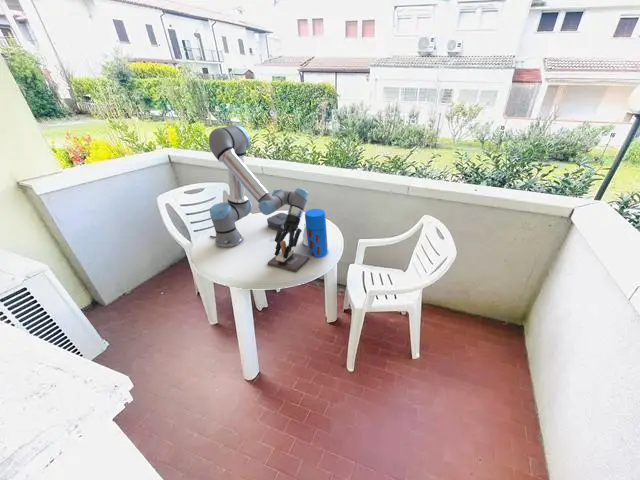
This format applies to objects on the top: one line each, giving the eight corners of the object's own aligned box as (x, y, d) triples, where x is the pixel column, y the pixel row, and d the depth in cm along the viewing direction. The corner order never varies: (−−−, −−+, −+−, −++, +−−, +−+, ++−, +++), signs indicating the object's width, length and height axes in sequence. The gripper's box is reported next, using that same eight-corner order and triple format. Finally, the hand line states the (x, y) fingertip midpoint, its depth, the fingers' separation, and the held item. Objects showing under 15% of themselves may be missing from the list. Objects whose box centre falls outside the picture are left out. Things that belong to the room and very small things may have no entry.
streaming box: (296, 224, 195) (295, 217, 192) (281, 232, 185) (279, 224, 182) (282, 218, 201) (281, 212, 199) (266, 226, 192) (265, 219, 189)
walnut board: (268, 264, 153) (267, 262, 153) (283, 252, 164) (282, 249, 163) (295, 272, 147) (295, 269, 147) (309, 259, 158) (309, 256, 157)
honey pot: (326, 245, 171) (324, 217, 161) (305, 248, 168) (301, 220, 157) (321, 235, 181) (319, 209, 171) (301, 238, 178) (298, 211, 167)
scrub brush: (283, 263, 150) (281, 247, 144) (276, 261, 152) (272, 245, 146) (294, 254, 158) (291, 238, 152) (286, 252, 159) (284, 237, 154)
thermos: (318, 245, 170) (315, 206, 156) (331, 251, 164) (329, 211, 150) (305, 253, 163) (300, 213, 149) (318, 259, 157) (314, 218, 143)
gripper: (311, 221, 154) (298, 262, 151) (284, 216, 160) (270, 254, 157) (305, 216, 147) (291, 258, 144) (276, 211, 153) (262, 251, 150)
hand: (280, 256), depth 150 cm, fingers closed on scrub brush, 5 cm apart
